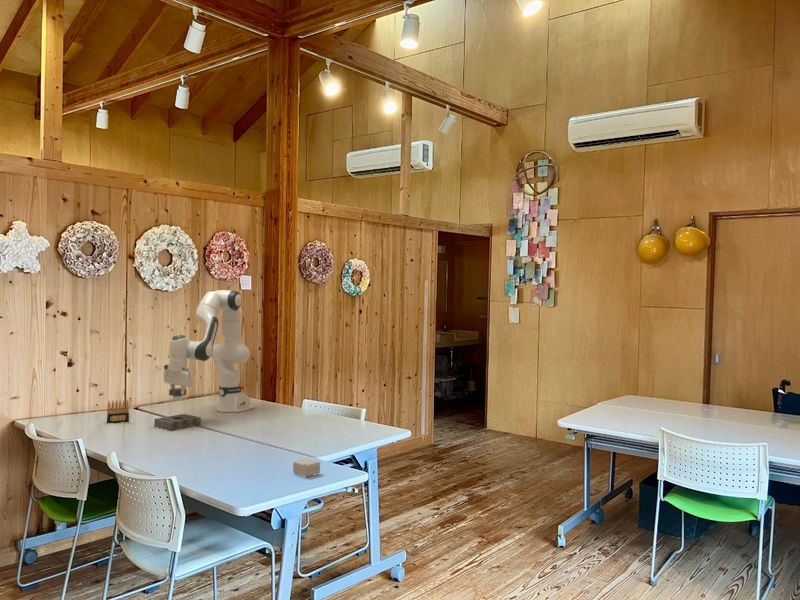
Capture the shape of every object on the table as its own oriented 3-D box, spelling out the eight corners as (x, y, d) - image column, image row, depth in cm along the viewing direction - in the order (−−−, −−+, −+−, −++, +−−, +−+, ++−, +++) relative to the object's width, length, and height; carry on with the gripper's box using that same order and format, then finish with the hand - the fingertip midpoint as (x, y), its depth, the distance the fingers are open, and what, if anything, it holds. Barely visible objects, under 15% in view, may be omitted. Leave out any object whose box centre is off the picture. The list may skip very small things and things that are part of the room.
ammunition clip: (128, 421, 335) (129, 399, 335) (129, 422, 334) (129, 399, 333) (106, 423, 330) (106, 400, 329) (107, 424, 328) (107, 401, 328)
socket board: (184, 421, 339) (184, 412, 339) (200, 425, 331) (200, 416, 331) (154, 426, 325) (154, 417, 325) (170, 431, 317) (170, 421, 316)
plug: (179, 398, 332) (180, 387, 332) (186, 400, 329) (186, 389, 329) (169, 400, 327) (169, 389, 326) (175, 401, 323) (175, 390, 323)
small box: (307, 470, 257) (307, 457, 257) (320, 474, 252) (320, 461, 252) (292, 474, 252) (292, 461, 251) (305, 478, 246) (305, 465, 246)
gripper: (195, 368, 324) (195, 395, 324) (172, 364, 336) (171, 390, 336) (185, 369, 319) (184, 396, 319) (161, 365, 331) (161, 391, 331)
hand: (177, 393), depth 328 cm, fingers closed on plug, 5 cm apart
